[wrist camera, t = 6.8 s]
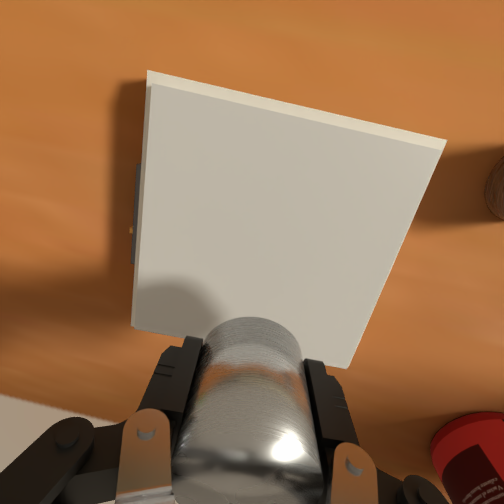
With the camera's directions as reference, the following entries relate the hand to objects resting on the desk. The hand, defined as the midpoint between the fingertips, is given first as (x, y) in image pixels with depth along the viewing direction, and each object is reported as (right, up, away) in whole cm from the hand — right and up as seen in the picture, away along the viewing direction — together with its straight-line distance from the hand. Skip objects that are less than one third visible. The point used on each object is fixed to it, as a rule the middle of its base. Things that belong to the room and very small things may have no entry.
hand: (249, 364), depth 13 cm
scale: (+1, +6, +6) cm, 8 cm away
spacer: (0, 0, 0) cm, 0 cm away
